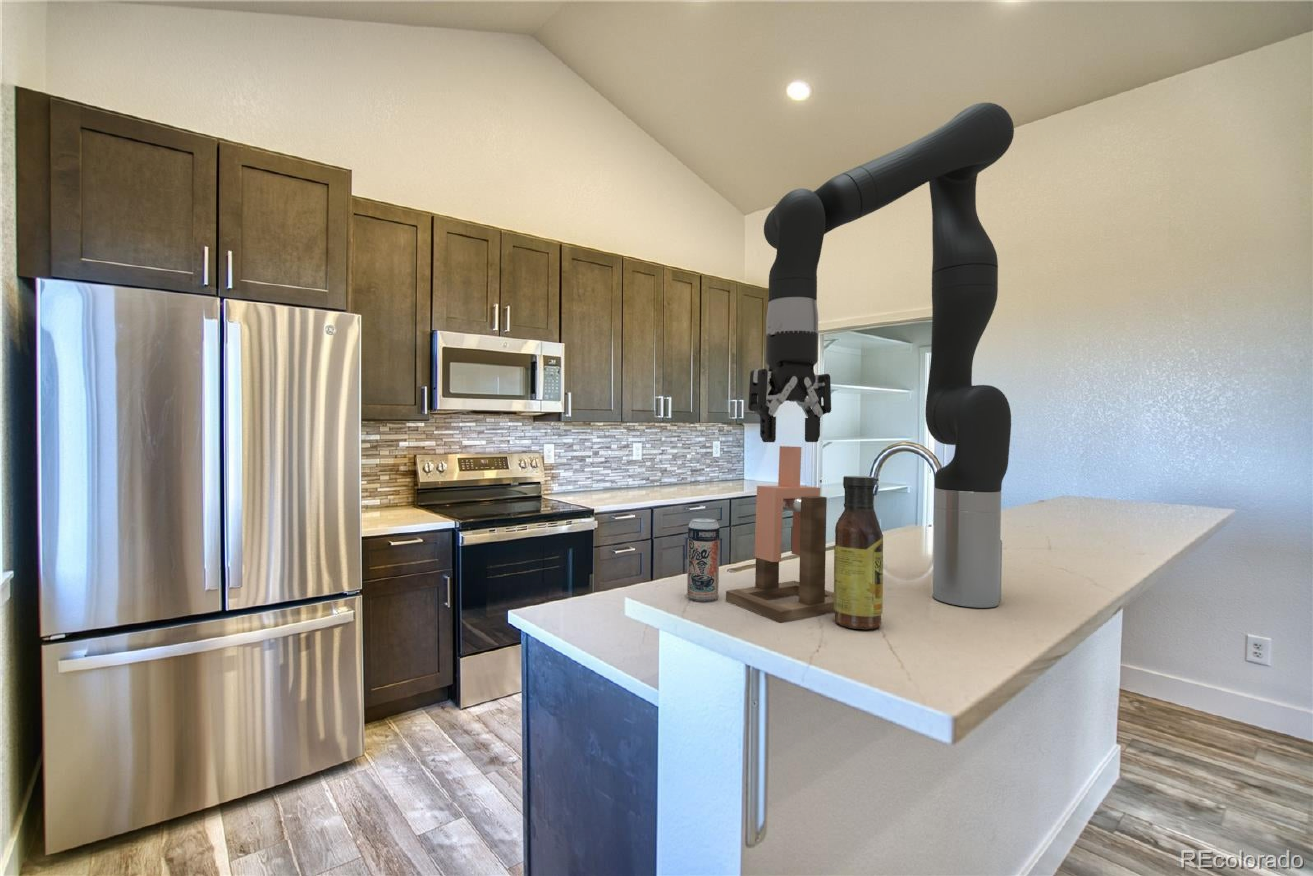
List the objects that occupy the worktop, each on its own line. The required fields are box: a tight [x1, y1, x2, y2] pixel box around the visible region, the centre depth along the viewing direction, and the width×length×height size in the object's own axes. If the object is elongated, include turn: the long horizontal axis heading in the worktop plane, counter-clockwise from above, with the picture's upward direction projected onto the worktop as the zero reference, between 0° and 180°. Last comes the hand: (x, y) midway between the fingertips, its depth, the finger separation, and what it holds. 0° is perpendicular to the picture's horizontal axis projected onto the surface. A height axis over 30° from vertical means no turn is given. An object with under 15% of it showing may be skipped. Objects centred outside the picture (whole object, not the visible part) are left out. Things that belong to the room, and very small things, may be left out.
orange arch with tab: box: [754, 445, 821, 563], centre depth 89 cm, size 9×4×16 cm, turn 122°
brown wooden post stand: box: [725, 495, 835, 624], centre depth 89 cm, size 14×12×16 cm
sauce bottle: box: [833, 475, 884, 631], centre depth 81 cm, size 7×6×20 cm
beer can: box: [686, 517, 720, 602], centre depth 92 cm, size 5×5×12 cm
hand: (790, 442), depth 89 cm, fingers open, 8 cm apart
